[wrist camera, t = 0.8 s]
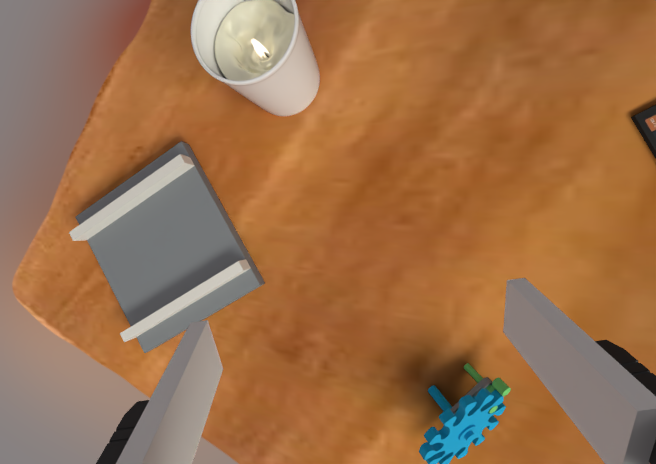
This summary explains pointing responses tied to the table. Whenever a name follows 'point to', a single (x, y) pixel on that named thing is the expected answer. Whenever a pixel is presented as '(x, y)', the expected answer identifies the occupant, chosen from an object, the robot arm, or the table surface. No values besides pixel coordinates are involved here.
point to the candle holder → (257, 51)
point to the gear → (464, 419)
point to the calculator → (647, 127)
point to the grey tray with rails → (167, 248)
